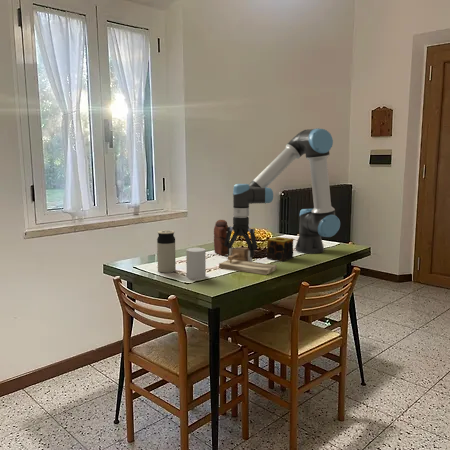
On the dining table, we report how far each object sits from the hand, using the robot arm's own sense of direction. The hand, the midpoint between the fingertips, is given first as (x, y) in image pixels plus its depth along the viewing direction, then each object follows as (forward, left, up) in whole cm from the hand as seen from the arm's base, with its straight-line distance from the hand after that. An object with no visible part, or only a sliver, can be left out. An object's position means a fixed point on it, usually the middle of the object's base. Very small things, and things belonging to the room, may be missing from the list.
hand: (240, 262), depth 220 cm
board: (+8, +8, 0) cm, 11 cm away
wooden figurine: (-13, -18, -1) cm, 22 cm away
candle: (-18, +13, -1) cm, 22 cm away
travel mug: (+30, -22, -1) cm, 37 cm away
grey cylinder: (+32, -5, -1) cm, 32 cm away
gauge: (+4, 0, 0) cm, 4 cm away
